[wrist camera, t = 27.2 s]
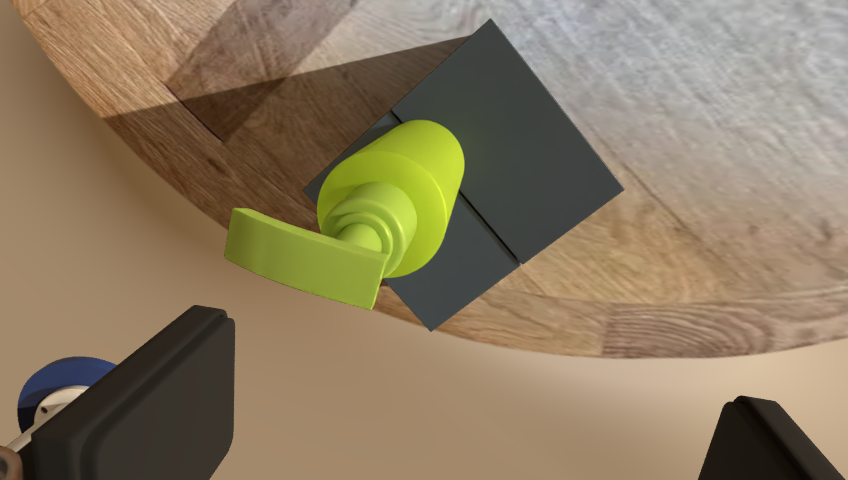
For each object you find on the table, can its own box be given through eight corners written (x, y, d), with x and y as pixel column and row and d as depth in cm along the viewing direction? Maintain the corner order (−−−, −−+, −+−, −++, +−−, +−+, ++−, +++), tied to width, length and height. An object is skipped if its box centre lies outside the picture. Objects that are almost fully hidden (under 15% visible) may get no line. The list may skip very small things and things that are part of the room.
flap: (431, 329, 40) (430, 332, 40) (303, 188, 38) (301, 189, 38) (520, 263, 38) (520, 265, 38) (390, 109, 36) (389, 110, 35)
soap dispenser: (375, 103, 35) (235, 151, 16) (476, 135, 35) (450, 220, 16) (354, 186, 37) (207, 314, 18) (449, 217, 37) (398, 378, 18)
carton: (442, 277, 51) (430, 333, 40) (342, 164, 48) (300, 190, 38) (594, 162, 46) (626, 189, 35) (490, 30, 44) (491, 16, 33)
